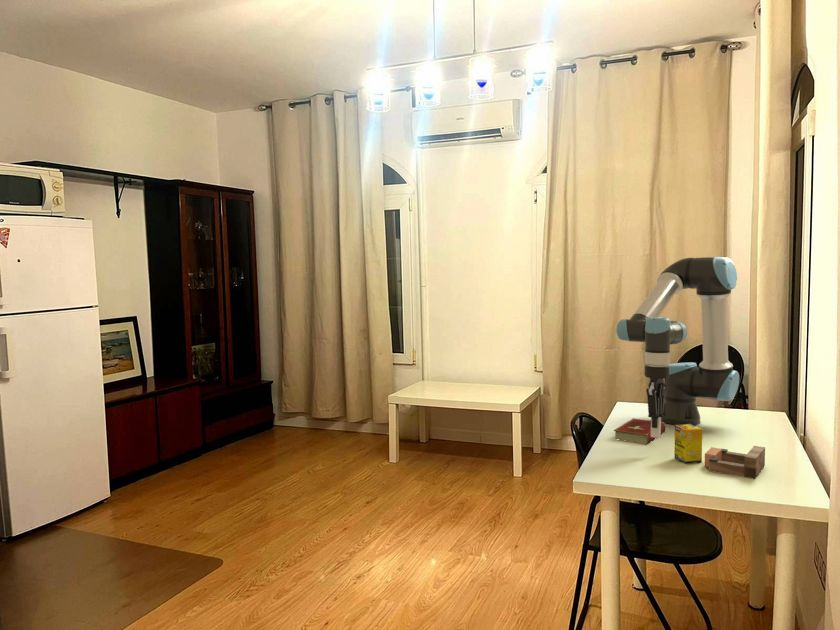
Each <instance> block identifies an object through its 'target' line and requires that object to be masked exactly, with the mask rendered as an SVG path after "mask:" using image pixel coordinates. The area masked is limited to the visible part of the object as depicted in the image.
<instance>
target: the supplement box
mask: <svg viewBox="0 0 840 630" xmlns="http://www.w3.org/2000/svg"><path fill="white" fill-rule="evenodd" d="M673 451H674V454H673V455H674V456H673V457H674V459H675V460H677V461H680V462H681V463H683V464H685V465H687V464H688V465H689V464H700V463H702V462H703V461H702V460H703V428H701V427H698V426H696V425H691V424H687V425H674V450H673Z"/></svg>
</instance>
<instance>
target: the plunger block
mask: <svg viewBox="0 0 840 630" xmlns="http://www.w3.org/2000/svg"><path fill="white" fill-rule="evenodd" d="M722 449H723V448H721V447H718V448H717V447H714V446H713V447H710V448H709V449H708V450H707V451H706V452H705V453H704V467H706V468H709V459H710V458H711V457H713V458H719V460H720V461H722Z"/></svg>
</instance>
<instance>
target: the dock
mask: <svg viewBox="0 0 840 630" xmlns="http://www.w3.org/2000/svg"><path fill="white" fill-rule="evenodd" d="M721 449H722V461H720V460H719V458H713V457H711V458H710V459H709V467H708V471H709V472H712V473H719V474H724V475H725V474H726V475H729V476H730V475H731V476H736V477H742V478H748V479H752V478H753V480H756V479H757V478H756V477H758V476H759V475H760V474H759V473H761V472H762V471H763V470H764V468H765V467H764V466H766V464H765V462H766V459H765V458H766V447H765V446H758V445H753V446H752V448H751V449H749V451H748V452H747V453H741V452H735V451H734V452H733V451H728V449H727V448H721ZM761 470H762V471H761Z"/></svg>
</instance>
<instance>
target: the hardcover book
mask: <svg viewBox="0 0 840 630" xmlns="http://www.w3.org/2000/svg"><path fill="white" fill-rule="evenodd" d="M666 428H667V427H666V423H664V422H661V435H663V434H665V433H666ZM613 432H615V435H614V438H615V439H619V440H618V441H621V440H626V441H625V442H627V441H631V442H630V443H634V442H638V443H637V444H640V443H644V444H643V445H646V444H648V445H650V444H651V443H652V442H653V441H655V440H656V439H655V438H654V437H651V420H647V419H641V418H632V419H630V420H628V421H627V422H625V423H624V424H622V425H620V426H618V427H616V428H615V429H613ZM662 433H663V434H662ZM654 439H655V440H654ZM651 441H652V442H651ZM650 442H651V443H650Z"/></svg>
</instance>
